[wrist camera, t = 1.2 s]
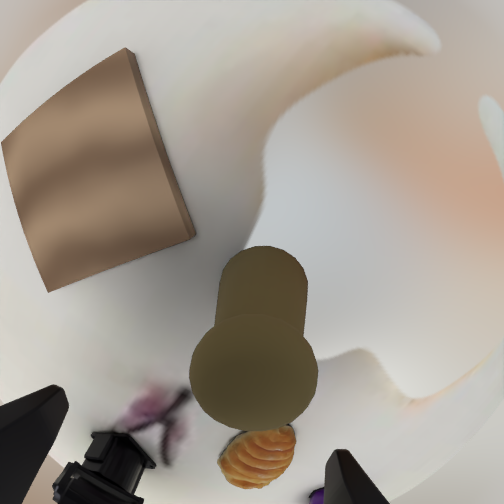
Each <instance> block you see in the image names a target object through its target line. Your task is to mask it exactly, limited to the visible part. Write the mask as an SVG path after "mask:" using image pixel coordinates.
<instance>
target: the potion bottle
mask: <svg viewBox="0 0 504 504" xmlns="http://www.w3.org/2000/svg"><path fill="white" fill-rule="evenodd" d="M309 498H310V502H309V504H323V503H324V487H323V488H320V489H317V490H314V491H313V492H312V493H311V495H310V496H309Z"/></svg>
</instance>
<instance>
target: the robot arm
mask: <svg viewBox="0 0 504 504" xmlns="http://www.w3.org/2000/svg"><path fill="white" fill-rule="evenodd" d="M68 409H69V403H68V400H67V397H66V394H65V391H64V389H63V388H61V387H59V386H57V385H54V384H53V385H50V386H48V387H45V388H43V389H40V390H38V391H36V392H33V393H31V394H29V395H26V396H24V397H21V398H19V399H16V400H14V401H11V402H9V403H6V404H4V405H2V406H0V504H22V502H23V500H24V498H25V496H26V494H27V492H28V490H29V488H30V486H31V484H32V482H33V480H34V478H35V477H36V475H37V473H38V471H39V469H40V467H41V465H42V463H43V462H44V460H45V458H46V456H47V454H48V453H49V451H50V449H51V447H52V445H53V443H54V442H55V439H56V437H57V435H58V432H59V430H60V428H61V425H62V423H63V421H64V418H65V416H66V414H67V411H68ZM91 437H92V438H93V439H94V440H93V442H92V443H91V445H90V447H89V448H88V450H87V452H86V453H85V455H84V458H85V461H84V462H83V464H82V465H80V464H79V463H78V462H77V461H75V462H74V463H71V462H68V464H67V465H66V467H65V469H64V470H63V472H62V473H61V474H60V476H59V477H58V478H57V479H56V481H55V482H54V483H53V485H52V487H53V489H54V497H53V500H54V501H55V502H57V503H58V504H143V502H144V499H143V498H141V497H137V496H135V495H134V493H135V491H136V488H137V486H138V484H139V481H140V479H141V476H142V474H143V471H144V469H145V468H150V469H155V467H156V464H155V463H154V462H153V461H152V460H151V459H150V458H149V457H148V456H147V455H146V454H145V452H144V451H143V450H142V449H141V448H140V447H139V446H138V445H137V443H136V442H135V441H134V440H133V439H132V438H131V437H130V436H129V435H127V434H108V433H92V434H91ZM323 504H390V503H389V502H388V501H387V500H386V498H385V497H384V496H383V495H382V493H381V492H380V491H379V489H378V488H377V487H376V486H375V484H374V483H373V482H372V481H371V479H370V478H369V477H368V475H367V474H366V473H365V471H364V470H363V469H362V468H361V466H360V465H359V464H358V462H357V461H356V460H355V458H354V457H353V456H352V454H351V453H350V452H349V451H348V450H347V449H336V450H334V451H333V453H332V455H331V456H330V458H329V460H328V461H327V463H326V467H325V486H324V503H323Z"/></svg>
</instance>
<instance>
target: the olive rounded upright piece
mask: <svg viewBox="0 0 504 504" xmlns="http://www.w3.org/2000/svg"><path fill="white" fill-rule="evenodd" d="M307 289H308V281H307V278H306V275H305V272H304V269H303V267H302V266H301V265H300V263H299V262H298V261H297V260H296V258H295V257H293V256H292V255H290V254H289V253H287V252H285V251H284V250H282V249H278V248H275V247H271V246H255V247H251V248H248V249H245V250H243V251H241V252H239V253H238V254H237V255H235V256H234V257H233V258H231V259H230V260H229V262H228V263H227V265H226V266H225V268H224V269H223V272H222V276H221V280H220V285H219V292H218V300H217V308H216V316H215V324H214V327H213V328H211V329H210V330H209V331H208V332H207V333H206V334H205V335H204V337H203V338H202V339H201V341H200V342H199V344H198V345H197V346H196V348H195V350H194V353H193V355H192V360H191V365H190V370H189V379H190V383H191V388H192V392H193V394H194V396H195V398H196V400H197V401H198V403H199V404H200V406H201V407H202V409H203V410H204V411H205V412H206V413H207V414H208V415H209V416H211V417H212V418H213V419H214V420H216V421H218V422H220V423H222V424H224V425H226V426H228V427H231V428H235V429H239V430H244V431H266V430H272V429H277V428H279V427H282V426H284V425H286V424H288V423H291V422H292V421H293V420H295V419H296V418H297V417H298V416H299V415H300V414H302V413H303V412H304V410H305V409H306V408H307V407H308V405H309V403H310V402H311V400H312V398H313V396H314V395H315V391H316V387H317V378H318V367H317V362H316V359H315V356H314V353H313V350H312V348H311V346H310V344H309V343H308V342H307V340H306V339H305V338H304V337H303V334H304V324H305V315H306V305H307V292H308V290H307Z"/></svg>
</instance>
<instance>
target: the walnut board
mask: <svg viewBox="0 0 504 504" xmlns="http://www.w3.org/2000/svg"><path fill="white" fill-rule="evenodd" d="M1 145H2V151H3V156H4V161H5V166H6V170H7V175H8V179H9V183H10V187H11V191H12V194H13V198H14V202H15V205H16V209H17V212H18V215H19V218H20V222H21V225H22V228H23V231H24V234H25V236H26V239H27V242H28V245H29V248H30V250H31V253H32V255H33V258H34V261H35V263H36V266H37V268H38V270H39V273H40V275H41V278H42V280H43V282H44V284H45V287H46V289H47V291H48V293H49V292H51V291H54V290H56V289H59V288H61V287H64V286H66V285H69V284H71V283H74V282H76V281H79V280H82V279H84V278H87V277H89V276H92V275H94V274H97V273H100V272H102V271H105V270H107V269H110V268H113V267H115V266H118V265H121V264H123V263H126V262H129V261H131V260H134V259H137V258H140V257H142V256H145V255H148V254H150V253H153V252H156V251H159V250H161V249H164V248H167V247H170V246H173V245H175V244H178V243H181V242H184V241H187V240H189V239H191V238H192V237H193V236H194V235H196V232H195V230H194V227H193V225H192V222H191V219H190V217H189V214H188V211H187V209H186V206H185V203H184V201H183V198H182V195H181V192H180V190H179V187H178V184H177V181H176V179H175V176H174V173H173V170H172V168H171V165H170V162H169V159H168V156H167V153H166V150H165V148H164V145H163V142H162V139H161V136H160V133H159V130H158V127H157V124H156V121H155V118H154V115H153V112H152V109H151V106H150V103H149V100H148V96H147V93H146V90H145V87H144V84H143V81H142V77H141V74H140V71H139V67H138V64H137V61H136V57H135V54H134V53H133V52H131V51H130V50H128V49H127V48H123V49H121V50H120V51H118V52H116V53H115V54H113V55H111V56H110V57H108V58H106V59H105V60H103V61H102V62H100V63H98V64H97V65H95V66H94V67H92V68H91V69H89V70H88V71H86V72H85V73H83V74H82V75H80V76H79V77H78V78H76V79H75V80H73V81H72V82H71V83H69V84H68V85H66V86H65V87H64V88H62V89H61V90H60V91H59V92H57V93H56V94H55V95H53V96H52V97H51V98H50V99H48V100H47V101H46V102H45V103H43V104H42V105H41V106H40V107H39V108H38V109H36V110H35V111H34V112H33V113H32V114H31V115H29V116H28V117H27V118H26V119H25V120H24V121H23V122H22V123H21V124H20V125H18V126H17V127H16V128H15V129H14V130H13V131H12V132H11V133H10V134H9V135H8V136H7V137H6V138H5V139H4V140H3V141H2V142H1Z"/></svg>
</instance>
